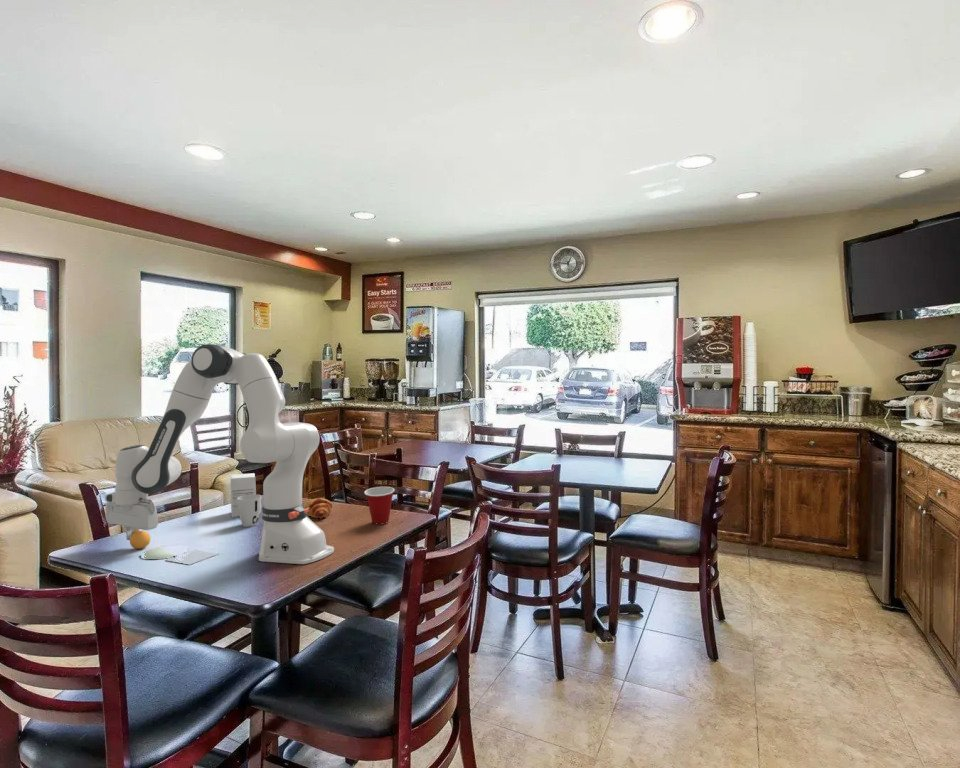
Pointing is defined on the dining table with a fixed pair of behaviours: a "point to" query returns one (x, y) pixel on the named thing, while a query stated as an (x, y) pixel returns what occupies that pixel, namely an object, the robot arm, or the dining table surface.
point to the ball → (140, 539)
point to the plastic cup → (379, 503)
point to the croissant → (318, 508)
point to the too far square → (194, 557)
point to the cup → (249, 509)
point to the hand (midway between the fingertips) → (131, 540)
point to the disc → (158, 553)
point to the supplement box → (241, 489)
